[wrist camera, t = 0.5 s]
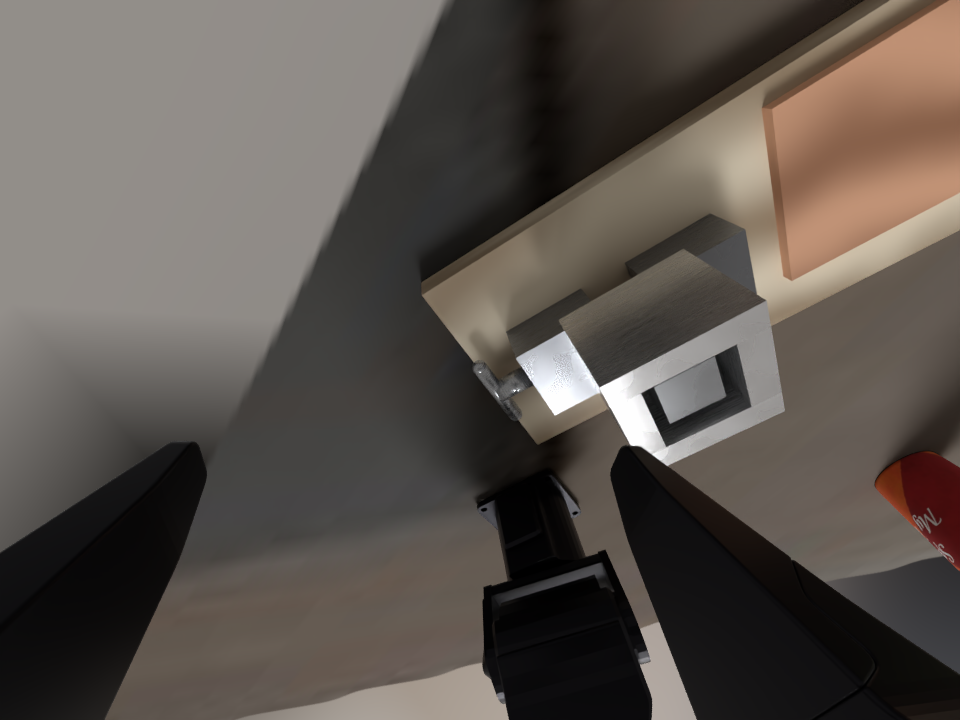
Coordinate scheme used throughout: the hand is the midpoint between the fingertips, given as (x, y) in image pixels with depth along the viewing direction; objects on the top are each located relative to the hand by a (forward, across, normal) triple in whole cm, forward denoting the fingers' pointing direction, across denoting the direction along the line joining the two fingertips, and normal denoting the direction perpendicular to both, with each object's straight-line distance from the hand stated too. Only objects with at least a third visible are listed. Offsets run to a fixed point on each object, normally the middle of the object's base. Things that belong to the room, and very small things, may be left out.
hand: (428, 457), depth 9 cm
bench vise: (+12, -9, +2) cm, 16 cm away
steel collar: (+10, -10, +2) cm, 14 cm away
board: (+14, -14, -2) cm, 20 cm away
